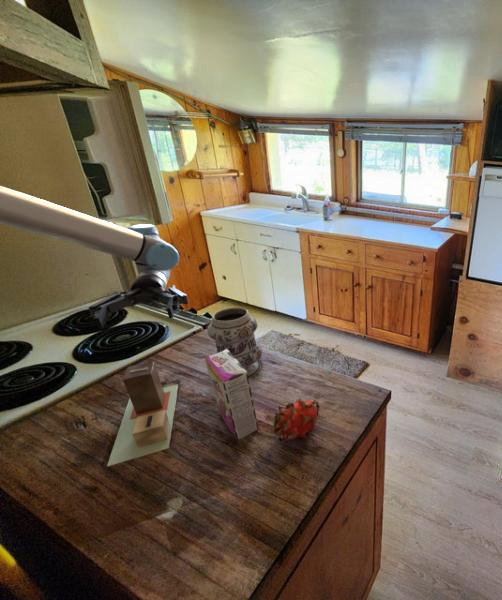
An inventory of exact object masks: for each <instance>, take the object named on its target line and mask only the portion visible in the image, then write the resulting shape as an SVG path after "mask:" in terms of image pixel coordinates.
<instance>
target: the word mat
mask: <svg viewBox="0 0 502 600" xmlns="http://www.w3.org/2000/svg"><path fill="white" fill-rule="evenodd" d="M162 387H163V390H164V393H165V398H164V404H163V408H160V409H156V410H153V411H149V412H145V413H141V414H136V412H135V409H134V407H133V404H132V402H131V399H130V397H129V398H128V401H127V404H126V407H125V410H124V413H123V417H122V420H121V422H120V426H119V429H118V432H117V435H116V438H115V440H114V444H113V447H112V450H111V453H110V456H109V459H108V462H107V465H106V467H107V468H108V467H110V466H114V465H117V464H121V463H123V462H128V461H131V460H134V459H137V458H141V457H144V456H147V455H150V454H151V455H152V454H154V453H158V452H160V451H161V452H162V451H164V450H167V449H170V443H171V437H172V431H173V424H174V417H175V409H176V403H177V396H178V395H177V394H178V391H179V390H178V388H179V383H177V384H172V385H168V386H162ZM163 410H165V411H166V414H167V416H168V419H169V422H170V426H169V432H168V439H167V440H165V441H161V442H158V443H154V444H151V445H147V446H144V447H140V448H138V446H137V444H136V441H135V439H134V437H133V434H132V433H133V430H134V426H135V423H136V419H137V417H139V416H143V415H147V414H151V413H155V412H159V411H163Z"/></svg>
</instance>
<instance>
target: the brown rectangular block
mask: <svg viewBox="0 0 502 600" xmlns="http://www.w3.org/2000/svg"><path fill="white" fill-rule="evenodd" d="M126 367H127V368H126V370H125V373H124V374H123V378H122V381H123V384H124V387H125V389H126V392H127V394H128V397H129V398H130V399H131V402H132V404H133V407H134V409H135V412H136V414H141V413H145V412H149V411H153V410H156V409H160V408H163V404H164V398H165V393H164V390H163V387H164V386H163V384H162V380H161V378H160V375H159V373H158V372H159V371H158V369H157V366H156V363H155V361H150V362H145V363H140V364H136V365H130V366H126Z"/></svg>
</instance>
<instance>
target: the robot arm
mask: <svg viewBox="0 0 502 600" xmlns="http://www.w3.org/2000/svg"><path fill="white" fill-rule="evenodd" d="M0 225H2V226H6V227H10V228H14V229H18V230H22V231H24V232H27V233H28V232H29V233H32V234H36V235H39V236H43V237H46V238H50V239H53V240H57V241H61V242H64V243H69V244H71V245H75V246H79V247H82V248H86V249H89V250H93V251H98V252H101V253H105V254H109V255H112V256H115V257H119V258H123V259H127V260H130V261H133V262H134V264H135V266H136V270H137V273H138V274H137V276H136V277H135V279H134V281H133V282H132V284H131V287H130V291H128V292H126V293H122V294H121V292H120V291H115V292H113V293H112V294H111V295H109V296H108V297H105V298H103V299H101V300H100V301H98V302H96V303H94V304H92V305H90V306H88V310H89V313H90V315H91V317H92V318H94V321H95V324H96V326H97V329H98V330H101V329H104V328H105V325H106V324H107V322H108V320H109V319H110V318H111V314H113V313H116V312H118V311H121V310H123V309H125V308H127V307H132V308H133V307H135V306H138V305H139V304H143V303H144V304H153V303H158V304H160V303H163V304H166V305H167V306H166V312H167V316H168V319H174V315H175V311H176V310H177V311H178V310H179V309H180V307H181V305H182V304H183V305H189V299H188V296H187V294H186V293H184V292H182V291H180V290H179V289H178V288H176V285H170V286H169V287H168V288H167V285H168V282H169V281H170V278H171V275H172V274H171V270H172V269H174V268H176V267H177V266H178V264H179V263H180V253H179V252H178V250H177V249H176V248H175V247H174V245H172V244H171V243H168V242H167V241H165V240H163V239H162V238H161V237H160V233H159V231H158V228H157V226H156V225H154V224H148V223H147V224H145V223H144V224H143V223H142V224H141V223H140V224H133V225H129V226H127V227H122V226H119V225H116V224H114V223H111V222H108V221H105V220H102V219H99V218H96V217H93V216H90V215H88V214H85V213H81V212H79V211H76V210H74V209H70V208H67V207H64V206H61V205H58V204H55V203H53V202H50V201H47V200H44V199H40V198H37V197H35V196H32V195H29V194H26V193H24V192H20V191H17V190H15V189H11V188H8V187H5V186H3V185H0Z"/></svg>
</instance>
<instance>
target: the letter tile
mask: <svg viewBox="0 0 502 600" xmlns="http://www.w3.org/2000/svg"><path fill="white" fill-rule="evenodd" d="M169 426H170V422H169V419H168V416H167V414H166V411H165V410H163V411H159V412H155V413H151V414H147V415H143V416H139V417H137V419H136V423H135V426H134V430H133V433H132V434H133V437H134V439H135V441H136V444H137V446H138V448H140V447H144V446H147V445H151V444H154V443H158V442H161V441H165V440H167V439H168V432H169Z"/></svg>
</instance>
